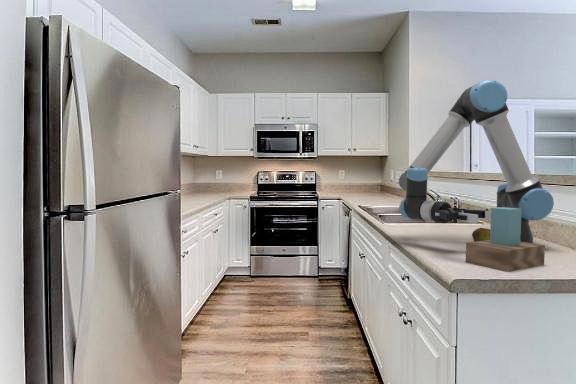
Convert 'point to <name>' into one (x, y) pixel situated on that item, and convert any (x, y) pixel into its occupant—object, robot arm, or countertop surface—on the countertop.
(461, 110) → the robot arm
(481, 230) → the potato
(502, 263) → the block
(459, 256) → the countertop surface
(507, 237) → the teal block
